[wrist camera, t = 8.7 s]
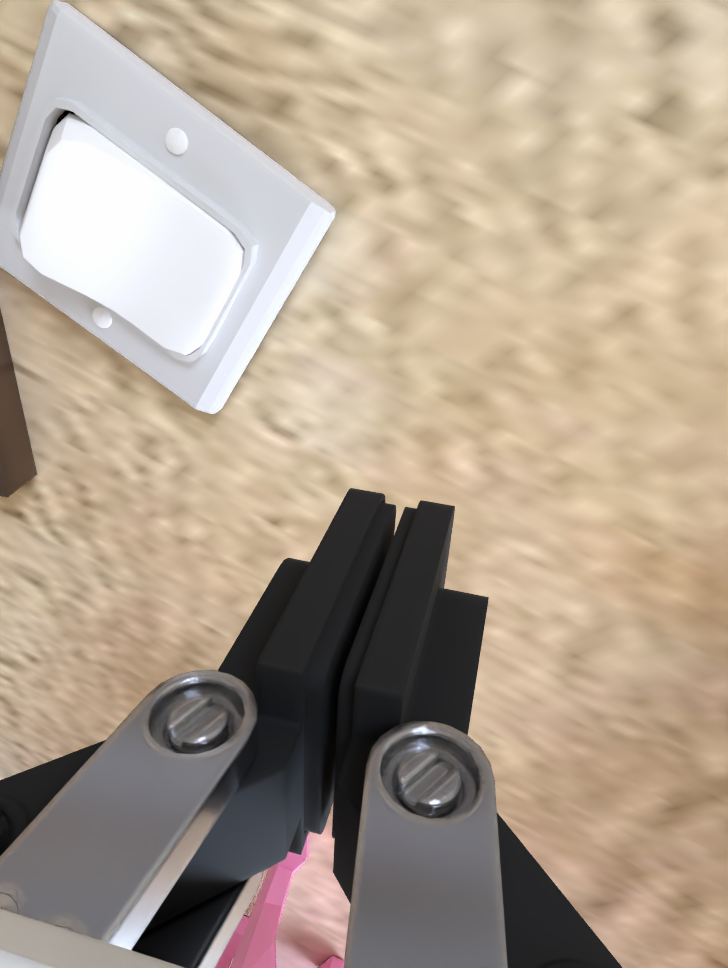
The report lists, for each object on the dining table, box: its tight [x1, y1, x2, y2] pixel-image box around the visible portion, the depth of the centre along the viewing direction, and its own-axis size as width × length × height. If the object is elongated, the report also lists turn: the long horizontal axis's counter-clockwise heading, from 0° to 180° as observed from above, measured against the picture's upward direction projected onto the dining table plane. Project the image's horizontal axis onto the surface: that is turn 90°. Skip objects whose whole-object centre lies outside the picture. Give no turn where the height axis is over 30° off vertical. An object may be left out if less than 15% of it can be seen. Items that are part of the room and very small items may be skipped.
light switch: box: [0, 0, 336, 414], centre depth 28 cm, size 11×4×13 cm
